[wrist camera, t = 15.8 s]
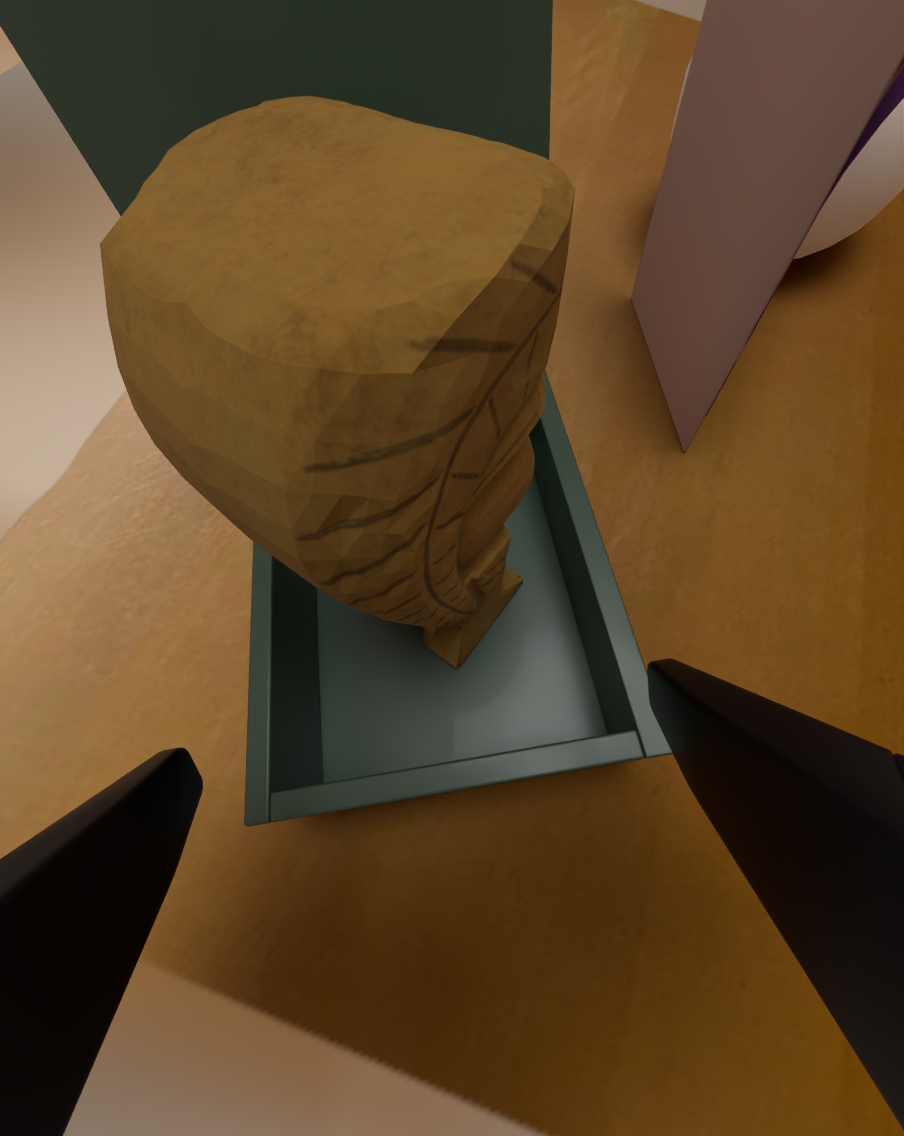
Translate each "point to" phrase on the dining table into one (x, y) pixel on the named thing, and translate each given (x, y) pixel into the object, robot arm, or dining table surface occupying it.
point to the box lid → (279, 68)
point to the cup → (857, 185)
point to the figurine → (349, 345)
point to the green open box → (449, 673)
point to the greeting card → (754, 173)
